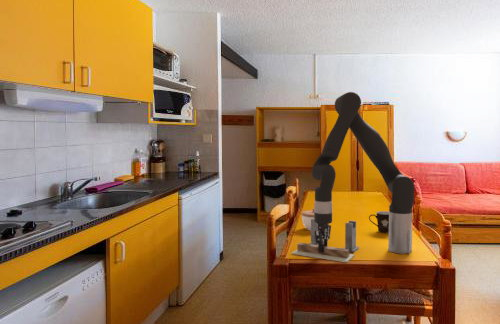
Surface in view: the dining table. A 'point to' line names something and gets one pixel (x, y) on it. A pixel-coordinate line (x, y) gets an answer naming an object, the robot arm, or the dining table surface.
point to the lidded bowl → (307, 218)
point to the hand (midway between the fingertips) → (322, 251)
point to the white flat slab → (323, 256)
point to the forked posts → (349, 235)
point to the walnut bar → (327, 250)
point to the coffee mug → (382, 221)
